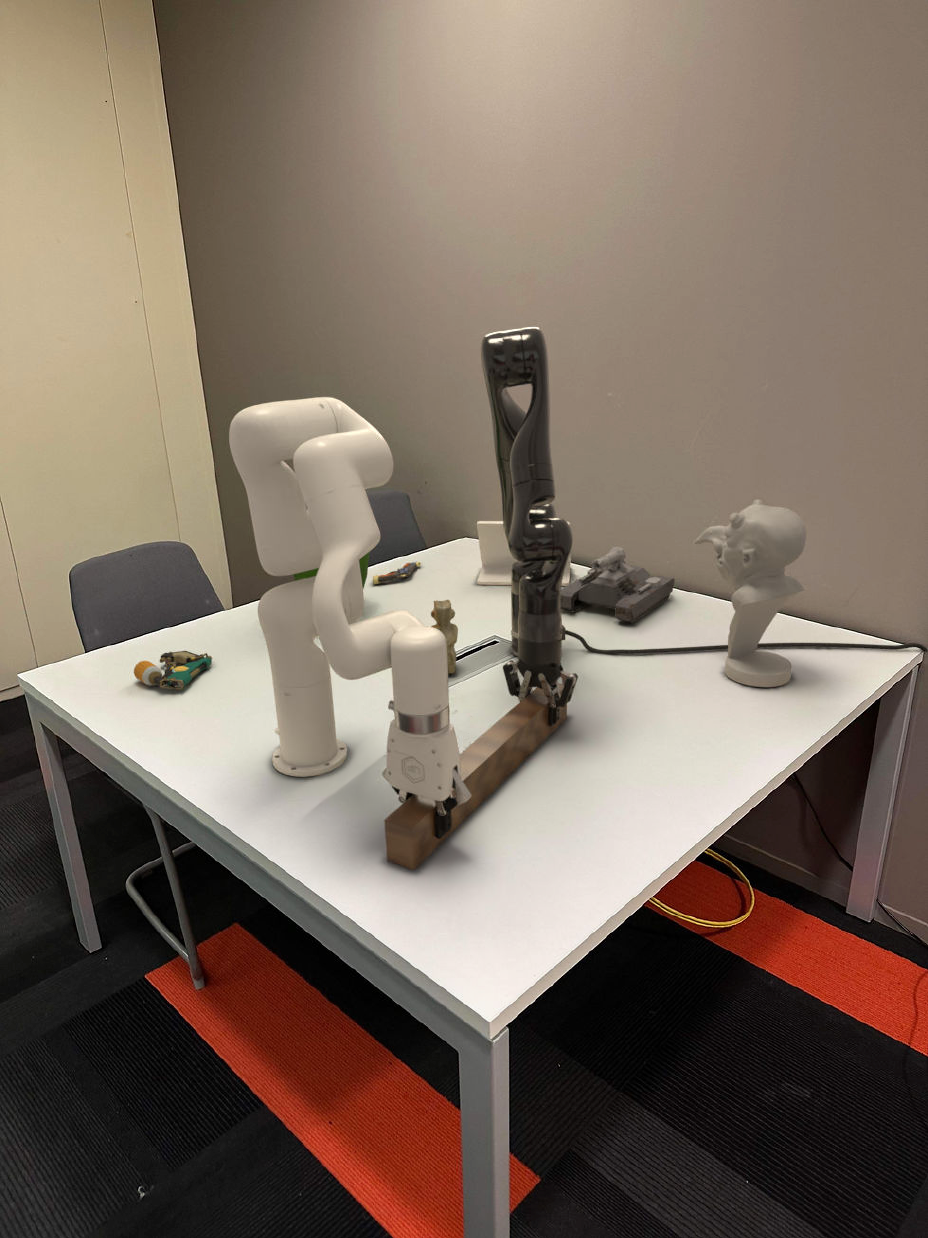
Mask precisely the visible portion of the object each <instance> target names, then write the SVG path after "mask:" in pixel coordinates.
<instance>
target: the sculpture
mask: <svg viewBox="0 0 928 1238" xmlns="http://www.w3.org/2000/svg"><path fill="white" fill-rule="evenodd" d="M455 615H456V611H455V609H453V608H452V602H451V601H450V599H445V600H433V610H431V612H430V617H431V618H432V619H433V620H434V621H435V622H436V623H435V624H433V625H431V626H430V627H433V628H436V629H438V630H440V631H441V632H442V633H443V634H444V636H445V638H446V643H447V664H448V675H449V674H455V673H456V666H457V665H456V663H457V652H456V649H455V644H456V643H457V642H458V637H459V635H458V634H459V627H458V626H457V624H455V623H453V622H451V621H452V620H453V619H454V618H455Z"/></svg>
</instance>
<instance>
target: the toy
mask: <svg viewBox="0 0 928 1238" xmlns="http://www.w3.org/2000/svg"><path fill="white" fill-rule="evenodd" d="M626 557H627V556H626V551H625V549H624V548H622V547H621V546H614V547H612V548H611V549H610V550H609V552H608V553H607V554H605V555H604V556H601V557H599V558H598V559H597V557H596V558H594V559H593V560H592V561H590V562H589V563H590V564H591V565H592V567H591V568H590V569H589V570H587V573H586V575H584V576H582V577H580V578H578V579H577V580H575V581H573V582H570V583H569V585H567V586H563V587H561V611H566V612H572V613H575V612H577V611H579V610H581V609H582V608H585V607H586V606H588V605H592V606H598V607H602V608H603V607H604V608H609V609H613V610H614V618H615V619H617V620H618V621H621V622H626V623H631V624H634V623H635V622H637V621H638V620H640V619H641V618H642V617H644V616H645V615H647V614H648V613H650V612H651V611H652V610H654V609H655V608H657V607H659V606H660V605H661V604H663V603H664V602H666V601H667V600H669V598H670V596H671V594H672V593H673V591H674V585H675V580H676V579H675V578H673V577H668V576H663V575H656V576H655V577H654V576H651V574H650V573H649V572H648V571H647V570H646V568H644V567H641V566H635V565H629V564H628V563H627V562H626V561H625V559H626Z"/></svg>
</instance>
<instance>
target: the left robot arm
mask: <svg viewBox="0 0 928 1238" xmlns="http://www.w3.org/2000/svg"><path fill="white" fill-rule="evenodd" d="M228 440H229V448H230V453H231V456H232V459H233V463H234V464H235V467H236V470H237V471H238V474H239V475H240V478H241V481H242V482H243V485H244V487H245V491H246V495H247V500H248V501H247V502H248V506H249V513H250V518H251V523H252V524H251V525H252V530H253V536H254V541H255V546H256V552H257V556H258V560H259V563H260V566H261V568H262V569H263V570H264V571H265V573H267V574H268V575H269V576H273V577H286V576H291V575H292V576H293V575H294V574H297V573H301V572H305V571H309V570H313V569H317V568H319V570H318V573H317V575H316V576H314V577H310V578H305V579H301V580H297V581H295V580H293V581H289V582H286V583H283V584H280V585H277V586H275V587H273V588H271V589H268V591H266V592H265V593H264V594H263V595H262V596H261V598H260V600H259V601H258V604H257V616H258V621H259V624H260V627H261V630H262V633H263V637H264V641H265V643H266V648H267V652H268V657H269V664H270V673H271V680H272V687H273V697H274V703H275V704H274V706H275V712H276V721H277V727H276V728H275V730H274V732H275V734H276V735H277V736H278V739H279V746H278V747H277V748H276V749H275V750H274V751H273V753H272V758H271V759H272V764H273V767H274V768H275V770H276V771H278V772H280V773H281V774H284V775H287V776H291V777H297V778H298V777H299V778H303V777H304V778H305V777H306V778H307V777H315V776H320V775H323V774H327V773H330V772H332V771H334V770H336V769H337V768H339V767H340V766H342V764H343V763H344V762H346V759H347V757H348V751H347V750H348V749H347V746H346V744H345V743H344V742H343V741H341V740H340V739H339V738H337V728H336V717H335V709H334V708H335V707H334V706H335V705H334V696H333V695H334V694H333V684H332V675H331V669H332V670H333V672H334V673H335V674H336V675H337V676H339V677H340V678H342V679H344V680H348V681H353V680H354V681H355V680H360V679H363V678H367V677H369V676H372V675H374V674H377V673H380V672H383V671H386V670H388V669H391V680H392V695H393V696H392V697H393V699H390V700H389V702H388V705H387V707H388V709H389V710H390V711H393V714H394V716H393V717H394V719H393V720H391V721H390V723H389V728H388V734H387V741H386V754H385V755H386V756H385V759H386V761H385V763H386V765H385V766H386V767H385V768H384V770H383V771H382V772H381V776H382V777H383V778H384V779H385V781H387V783H388V784H389V785H390V787H391V788H392V790H393V791H394V792H395V793H396V795H397V796H398V798H397V800H398V802H399V803H400V804H401V805H402V804H403V803H404V802H405V801H406V800H408V799H409V798H410V797H411V796H412V795H413V794H415V795H419V796H422V797H425V798H429V799H432V800H435V804H436V808H437V811H438V812H437V813H436V814H435V816H434V819H435V837H436V838H438V839H441V838H442V837H443V836H444V835H445V834H446V833H447V832H448V831H449V830H450V829H451V826H452V818H451V810H452V809H453V808H454V807H456V806H457V805H460V804H463V803H465V802H466V801H468V800H469V799H470V798H471V793H470V792H469V790H468V789H467V787H466V785H465V784H464V782H463V781H462V779H461V764H460V749H459V748H460V747H459V743H458V739H457V734H456V731H455V727H454V724H452V723H451V722H450V721H451V719H450V718H451V717H450V694H449V693H450V691H449V673H448V664H447V643H446V638H445V636H444V634H443V633H442V632H441V631H440V630H438V629H436V628H433V627H431V626H428V625H425V624H424V623H423V622H421V620H420V619H419V618H418V617H416V616H415V615H414V614H413V613H411V612H409V611H407V610H402V609H398V610H397V609H396V610H392V611H389V612H385V613H382V614H379V615H375V616H371V617H368V618H365V619H361V618H362V616H363V614H364V610H365V596H364V589H363V586H362V579H361V572H360V564H359V559H360V558H362V557H363V556H364V555H366V554H367V553H368V552H369V553H370V552H371V551H372V550H373V549H375V547H376V546H377V545H378V544H379V543H380V540H381V532H380V528H379V526H378V523H377V521H376V517H375V515H374V511H373V509H372V507H371V503H370V500H369V496H368V494H367V491H366V490H368V489H373V488H379V487H381V486H384V485H386V484H388V482H389V481H390V480H391V478H392V477H393V473H394V458H393V454H392V450H391V449H390V447H389V444H388V442H387V441H386V440H385V438H384V437H383V435H382V434H381V433H380V431H379V430H378V429H377V428H376V427H374V425H372V424H371V423H370V422H369V421H368V420H366V419H365V418H364V417H363V416H361V415H360V414H359V413H357V412H356V411H355V410H354V409H352V408H351V407H350V406H348V405H347V404H346V403H345V402H343V401H342V400H340V399H337V398H335V397H330V396H320V397H319V396H318V397H311V398H300V399H287V400H280V401H278V400H277V401H271V402H270V401H269V402H264V403H260V404H254V405H252V406H248V407H246V408H244V409H241V410H240V411H239V412H237V413H236V414H235V415H234V417H233V418H232V420H231V422H230V425H229V432H228ZM288 460H292V464H293V469H292V468H291V467H290V466H289V465H288V464H287V463H286V462H285V461H288ZM316 638H318V639H319V642H320V645H321V647H322V649H321V648H320V647H319V646H318V645H317V644H316V643H315V640H316ZM452 788H453V789H454V791H455V793H456V795H454V796H453V795H452V791H451V789H452ZM444 800H445V803H444Z"/></svg>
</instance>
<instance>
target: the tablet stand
mask: <svg viewBox="0 0 928 1238" xmlns="http://www.w3.org/2000/svg"><path fill="white" fill-rule="evenodd" d="M566 522H567V523H568V524H569V526H570V527H571V522H569V521H566ZM476 531H477V537H478V544H479V551H480V557H481V558H480V559H481V570H480V573H479V575H478V577H477V580H476V581H477V582H476V584H478V585H484V586H485V585H486V586H487V585H489V586H490V585H491V586H511V567H512V565H513V563H515V562H516V560H515V559H514V558H513V557H512V555H511V554H510V551H509V547H508V543H507V541H506V538H505V535H504V528H503V520H477V522H476ZM571 560H572V558H571V554H570V555H569V558H568V561H567V564H566V567H565V571H564V575H563V579H562V584H561V587H566V586H567V585H569V584H570V580H571V579H570V578H571V565H572V564H571Z"/></svg>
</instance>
